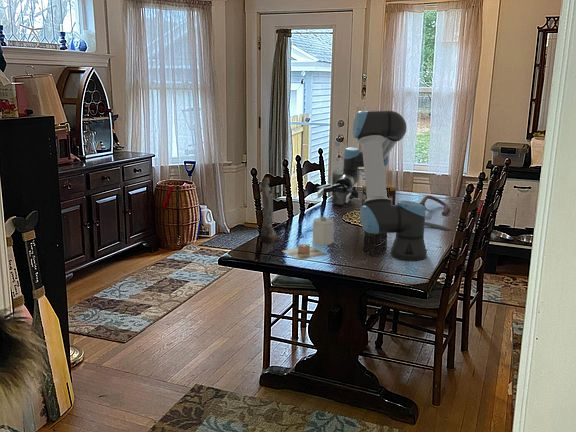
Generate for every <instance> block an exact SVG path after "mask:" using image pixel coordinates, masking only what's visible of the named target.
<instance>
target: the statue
mask: <svg viewBox="0 0 576 432" xmlns="http://www.w3.org/2000/svg"><path fill="white" fill-rule="evenodd" d="M269 184H270V178H269V177H264V178H263V181H262V188H261V194H262V195H261V196H262V198H261V199H262V206H263V216H262V217H263V218H262V219H263V220H262V225H261V230H260V238H259V242H261V243H266V244H270V243H276V242H277V241H279V239H278V238H279V237H278V235H277V233H276V231H275V230H274V228H273V221H274V220H273V215H274V201H273V200H274V192H273V189H271V188H270V186H269Z"/></svg>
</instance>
